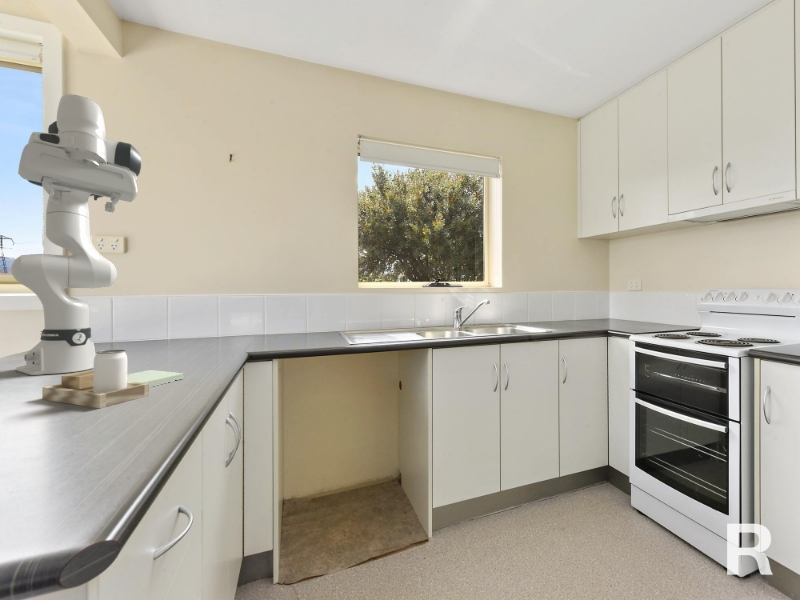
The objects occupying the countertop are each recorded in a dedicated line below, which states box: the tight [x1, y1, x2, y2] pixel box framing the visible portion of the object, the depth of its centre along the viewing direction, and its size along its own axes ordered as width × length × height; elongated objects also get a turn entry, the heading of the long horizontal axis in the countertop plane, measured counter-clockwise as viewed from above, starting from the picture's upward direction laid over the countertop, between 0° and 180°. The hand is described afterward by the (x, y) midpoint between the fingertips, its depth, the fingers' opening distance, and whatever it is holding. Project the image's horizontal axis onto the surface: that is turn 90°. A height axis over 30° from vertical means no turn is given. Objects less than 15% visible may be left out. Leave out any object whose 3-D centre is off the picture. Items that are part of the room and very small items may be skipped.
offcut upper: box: [60, 369, 94, 389], centre depth 89 cm, size 6×7×3 cm
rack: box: [41, 381, 150, 409], centre depth 88 cm, size 20×11×3 cm, turn 73°
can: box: [93, 349, 128, 393], centre depth 86 cm, size 6×6×12 cm
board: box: [127, 369, 185, 388], centre depth 103 cm, size 14×14×2 cm
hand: (83, 205), depth 79 cm, fingers open, 8 cm apart
